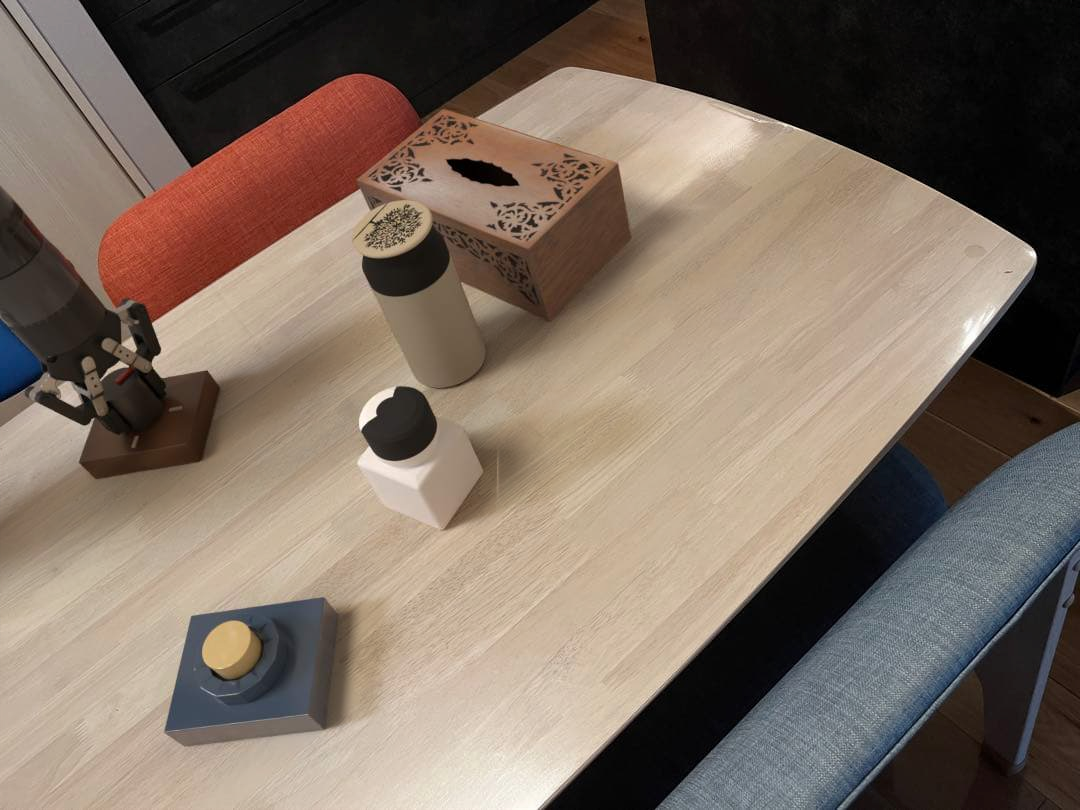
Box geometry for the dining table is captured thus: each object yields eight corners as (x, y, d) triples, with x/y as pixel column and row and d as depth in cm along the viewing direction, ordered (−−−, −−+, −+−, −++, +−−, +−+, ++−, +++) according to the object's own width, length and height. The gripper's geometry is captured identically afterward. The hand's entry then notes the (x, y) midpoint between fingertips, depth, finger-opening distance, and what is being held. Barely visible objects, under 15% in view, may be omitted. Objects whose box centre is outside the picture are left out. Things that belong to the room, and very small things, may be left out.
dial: (141, 437, 93) (112, 404, 89) (115, 423, 95) (85, 391, 91) (172, 405, 95) (144, 372, 91) (146, 393, 97) (118, 360, 93)
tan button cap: (209, 682, 71) (196, 671, 70) (219, 634, 74) (207, 623, 72) (257, 676, 71) (245, 665, 69) (266, 628, 73) (254, 617, 72)
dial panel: (95, 479, 95) (77, 461, 92) (120, 405, 101) (104, 387, 99) (201, 461, 93) (186, 443, 91) (220, 387, 99) (206, 368, 97)
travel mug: (502, 348, 94) (452, 211, 80) (451, 401, 91) (390, 267, 77) (448, 322, 98) (391, 188, 85) (397, 372, 95) (330, 240, 81)
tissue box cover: (386, 247, 109) (356, 180, 101) (466, 177, 114) (443, 108, 107) (549, 321, 95) (528, 249, 87) (631, 237, 100) (618, 162, 93)
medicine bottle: (485, 471, 84) (448, 388, 75) (443, 533, 81) (399, 454, 72) (425, 448, 88) (382, 366, 79) (382, 506, 84) (332, 428, 75)
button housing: (184, 747, 73) (150, 724, 69) (209, 631, 80) (179, 605, 76) (325, 730, 71) (298, 706, 68) (338, 613, 78) (315, 586, 74)
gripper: (73, 234, 87) (167, 355, 100) (-49, 338, 80) (69, 453, 93) (121, 250, 83) (212, 373, 96) (-2, 359, 77) (113, 476, 89)
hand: (141, 412), depth 94 cm, fingers closed on dial, 4 cm apart
